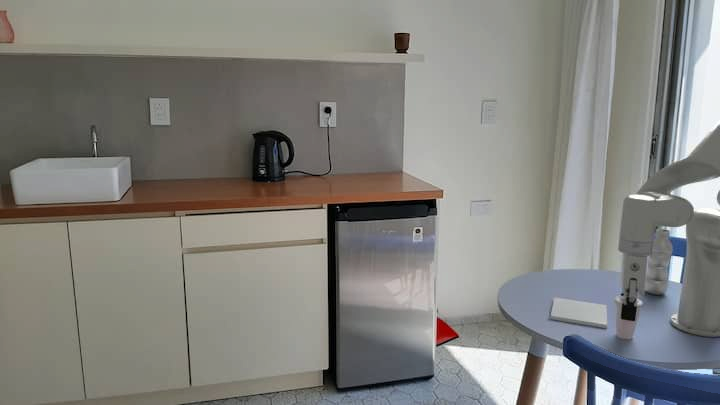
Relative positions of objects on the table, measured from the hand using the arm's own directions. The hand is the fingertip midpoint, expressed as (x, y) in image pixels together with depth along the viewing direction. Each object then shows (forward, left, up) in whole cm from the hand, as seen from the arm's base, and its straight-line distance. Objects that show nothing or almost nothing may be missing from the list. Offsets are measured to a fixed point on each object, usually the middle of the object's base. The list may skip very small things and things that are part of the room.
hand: (627, 313), depth 134 cm
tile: (+11, -10, -6) cm, 16 cm away
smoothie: (0, 0, -6) cm, 6 cm away
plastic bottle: (-10, -36, -6) cm, 38 cm away
